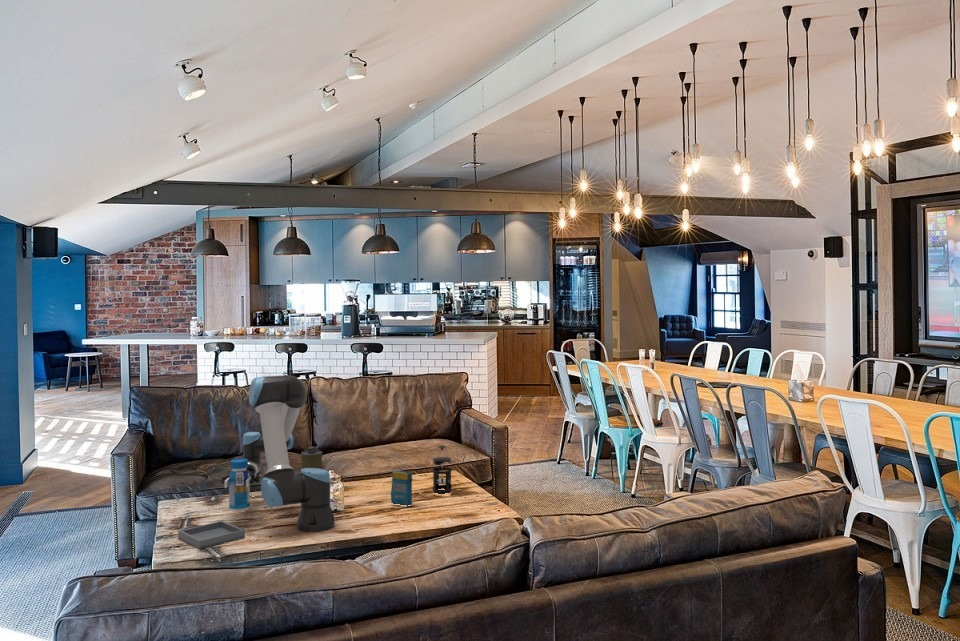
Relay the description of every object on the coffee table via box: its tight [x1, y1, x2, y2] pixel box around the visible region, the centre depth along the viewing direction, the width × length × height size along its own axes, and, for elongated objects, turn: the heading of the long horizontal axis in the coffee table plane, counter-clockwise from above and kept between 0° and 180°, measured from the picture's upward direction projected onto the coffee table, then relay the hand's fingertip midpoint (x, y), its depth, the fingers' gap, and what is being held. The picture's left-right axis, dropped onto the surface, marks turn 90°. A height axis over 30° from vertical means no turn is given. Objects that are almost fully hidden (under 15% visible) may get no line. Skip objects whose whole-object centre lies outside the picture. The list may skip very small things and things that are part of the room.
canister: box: [300, 446, 323, 470], centre depth 357 cm, size 11×10×20 cm
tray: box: [177, 520, 246, 550], centre depth 279 cm, size 18×18×3 cm
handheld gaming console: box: [390, 470, 413, 506], centre depth 323 cm, size 10×4×15 cm, turn 65°
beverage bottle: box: [228, 458, 251, 512], centre depth 298 cm, size 8×8×20 cm
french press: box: [432, 445, 453, 494], centre depth 343 cm, size 12×9×23 cm
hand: (236, 484), depth 293 cm, fingers closed on beverage bottle, 8 cm apart
